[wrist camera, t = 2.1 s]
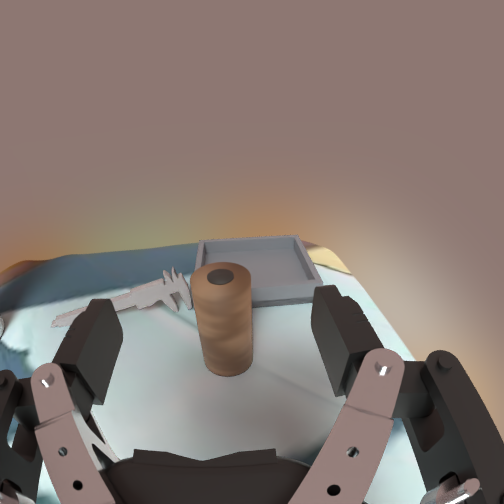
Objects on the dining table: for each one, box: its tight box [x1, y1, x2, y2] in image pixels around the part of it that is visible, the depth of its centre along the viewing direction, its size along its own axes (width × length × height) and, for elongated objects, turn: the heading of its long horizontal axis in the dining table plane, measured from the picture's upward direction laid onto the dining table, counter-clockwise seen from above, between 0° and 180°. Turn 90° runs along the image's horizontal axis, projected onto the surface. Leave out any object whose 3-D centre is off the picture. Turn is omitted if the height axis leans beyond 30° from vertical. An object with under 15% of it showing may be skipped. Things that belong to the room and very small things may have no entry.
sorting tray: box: [191, 235, 323, 310], centre depth 41 cm, size 16×14×3 cm
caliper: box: [51, 267, 192, 327], centre depth 32 cm, size 20×1×6 cm, turn 106°
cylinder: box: [190, 262, 253, 377], centre depth 26 cm, size 5×5×10 cm
